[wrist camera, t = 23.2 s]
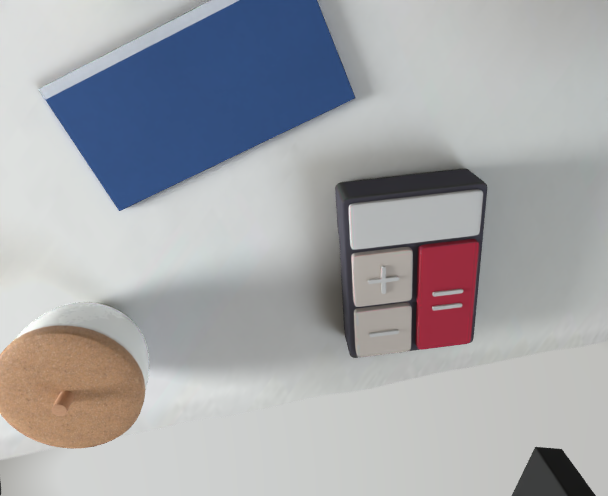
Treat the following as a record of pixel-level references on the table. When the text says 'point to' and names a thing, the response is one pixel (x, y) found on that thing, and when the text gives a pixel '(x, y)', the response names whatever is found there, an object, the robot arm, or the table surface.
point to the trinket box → (75, 376)
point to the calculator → (410, 260)
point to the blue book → (199, 92)
